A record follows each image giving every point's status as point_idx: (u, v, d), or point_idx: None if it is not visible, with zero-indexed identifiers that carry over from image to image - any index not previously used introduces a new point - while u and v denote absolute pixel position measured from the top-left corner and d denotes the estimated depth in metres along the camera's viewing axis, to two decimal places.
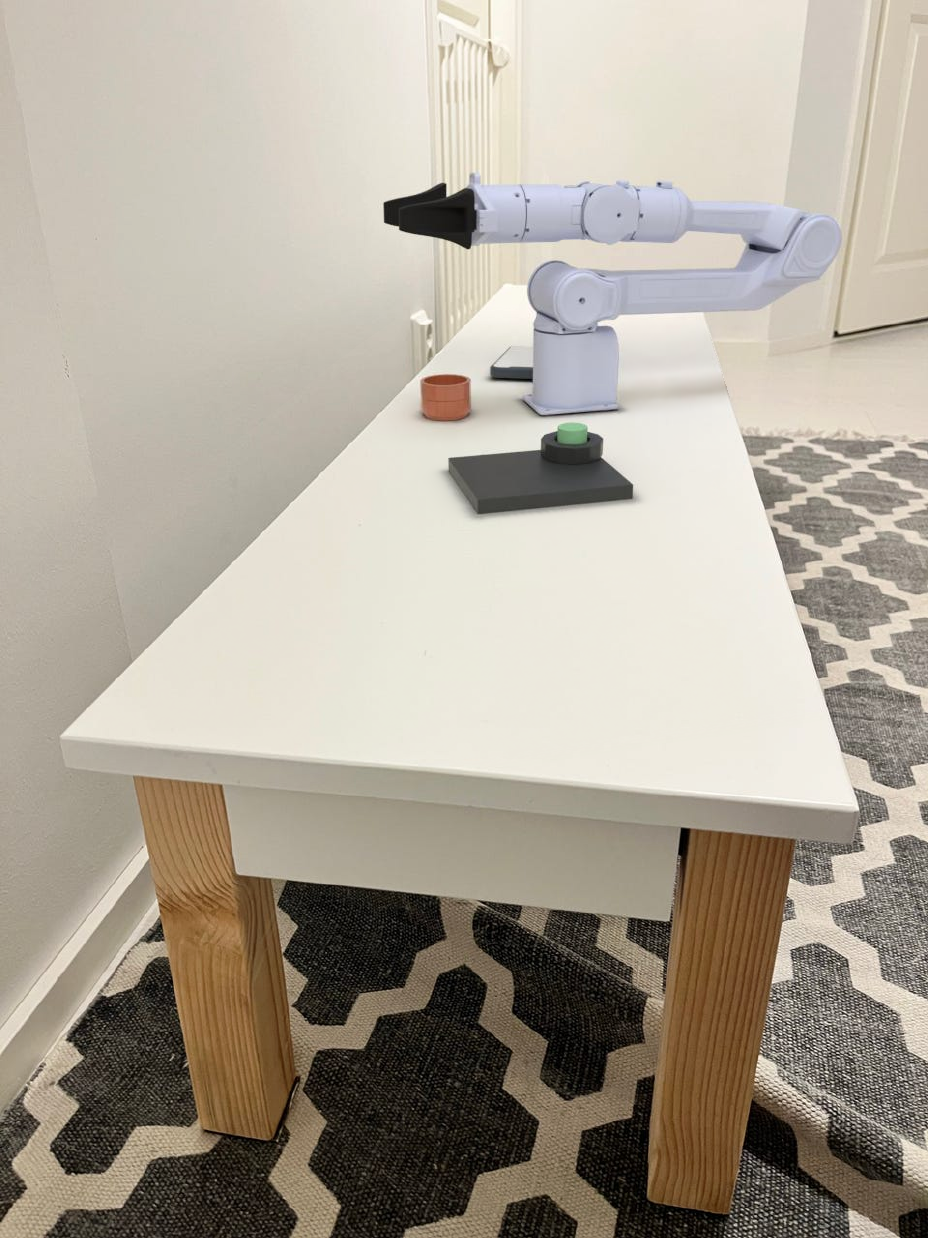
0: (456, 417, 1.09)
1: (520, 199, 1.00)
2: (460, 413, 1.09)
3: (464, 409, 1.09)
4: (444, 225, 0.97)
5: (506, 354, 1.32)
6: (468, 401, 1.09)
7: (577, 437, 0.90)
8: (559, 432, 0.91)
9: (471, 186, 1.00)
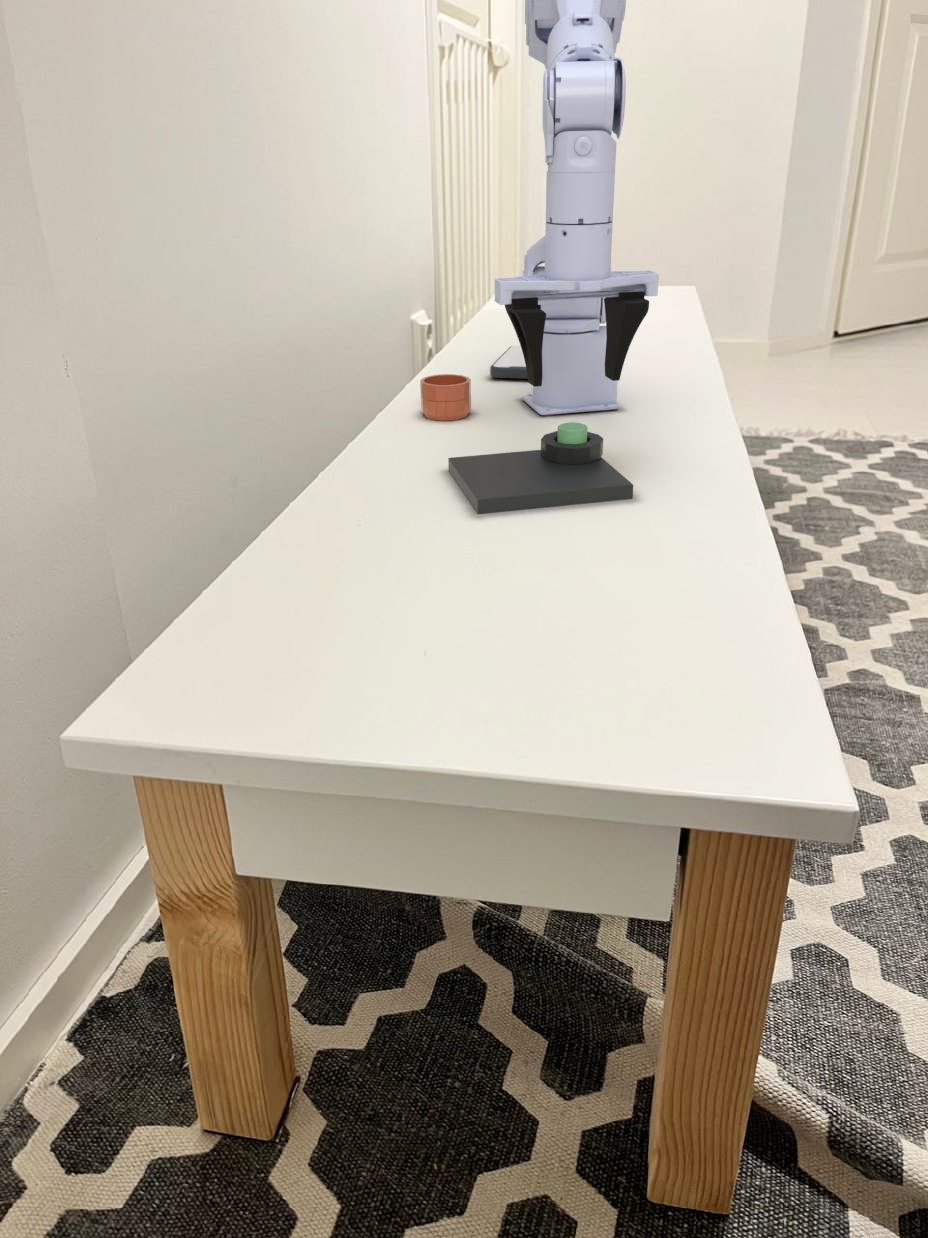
0: (456, 417, 1.09)
1: (611, 228, 0.82)
2: (460, 413, 1.09)
3: (464, 409, 1.09)
4: None
5: (506, 354, 1.32)
6: (468, 401, 1.09)
7: (577, 437, 0.90)
8: (559, 432, 0.91)
9: None
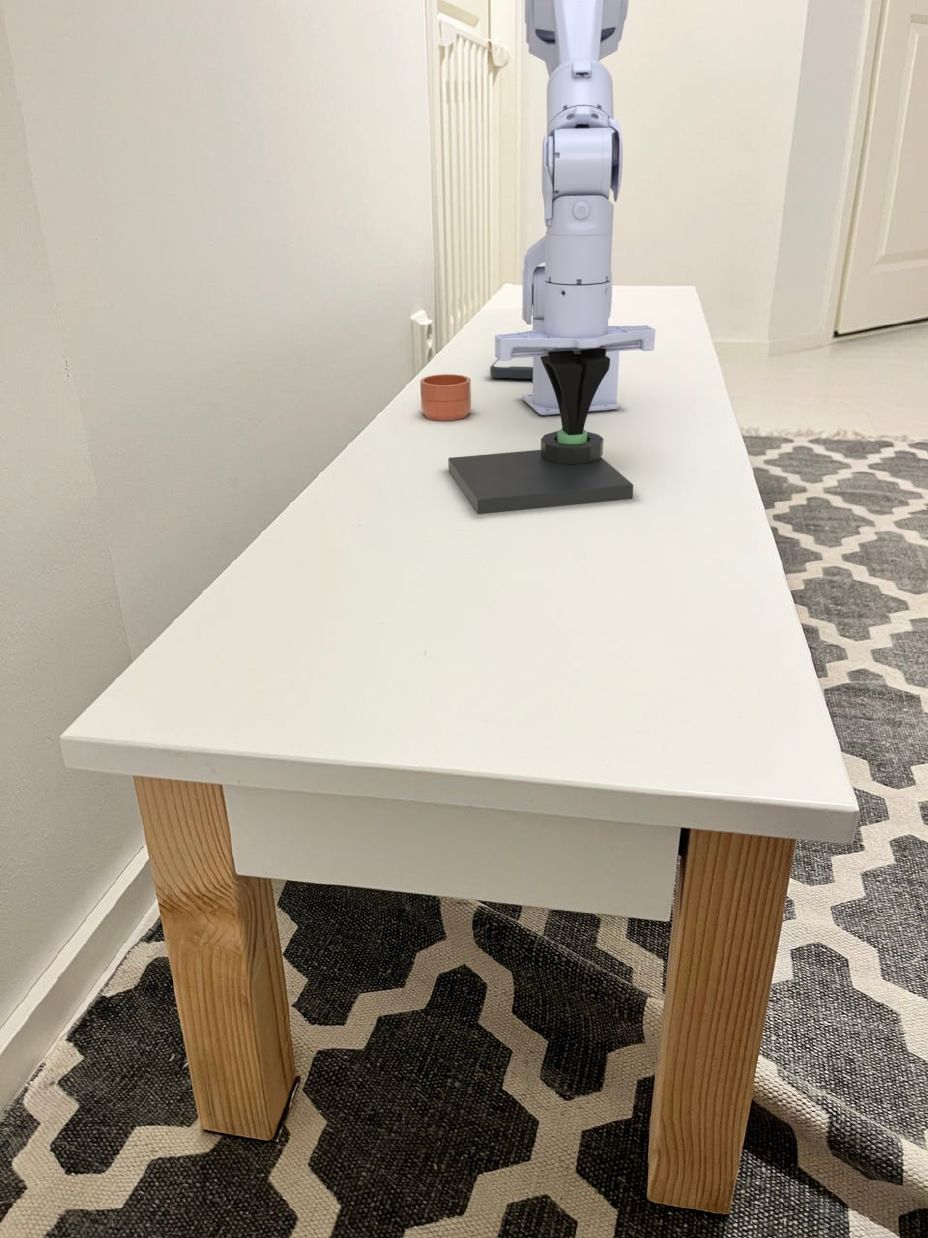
0: (456, 417, 1.09)
1: (608, 287, 0.84)
2: (460, 413, 1.09)
3: (464, 409, 1.09)
4: None
5: None
6: (468, 401, 1.09)
7: (577, 442, 0.90)
8: (559, 437, 0.91)
9: None
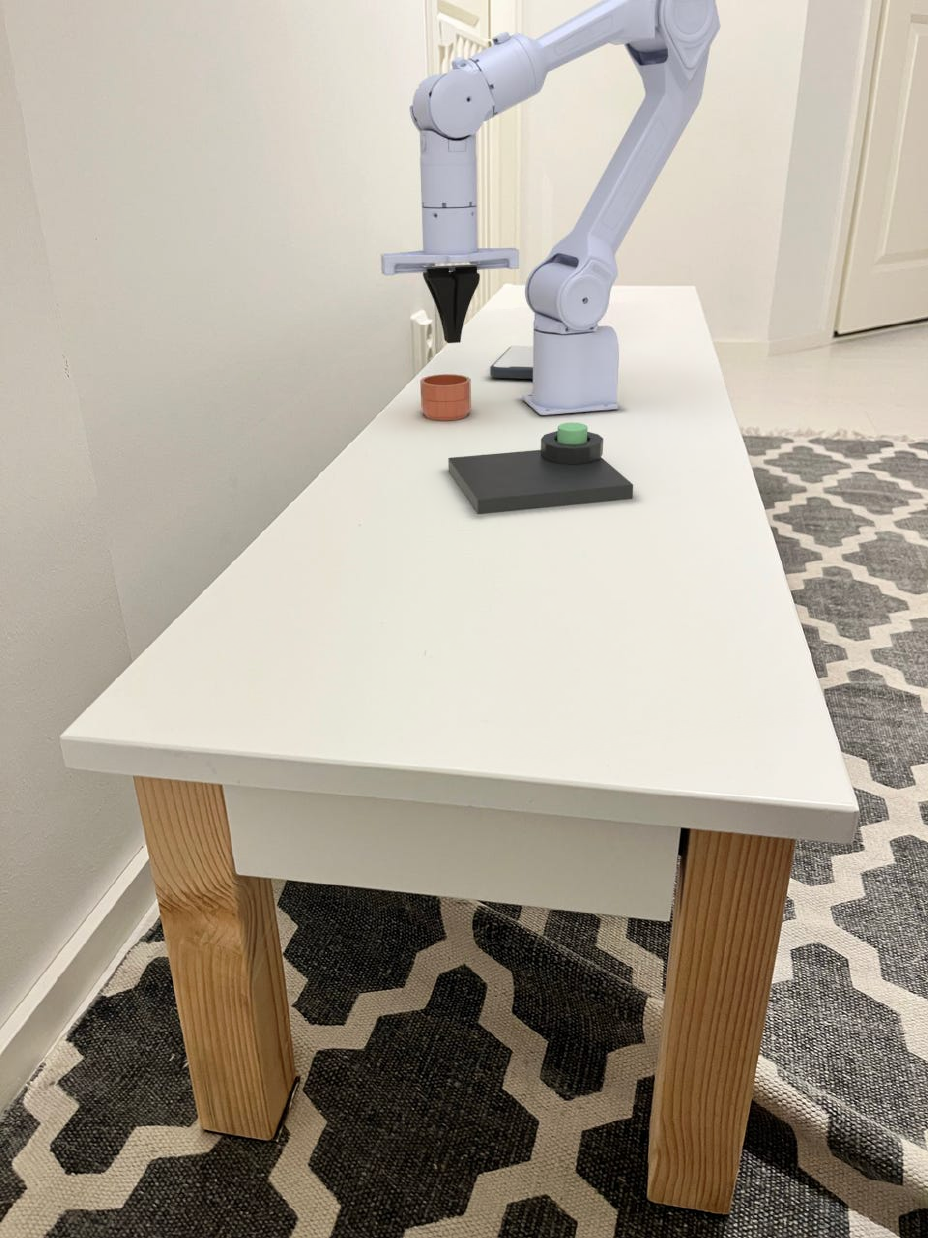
0: (456, 417, 1.09)
1: (475, 211, 0.99)
2: (460, 413, 1.09)
3: (464, 409, 1.09)
4: None
5: (506, 354, 1.32)
6: (468, 401, 1.09)
7: (577, 437, 0.90)
8: (559, 432, 0.91)
9: None
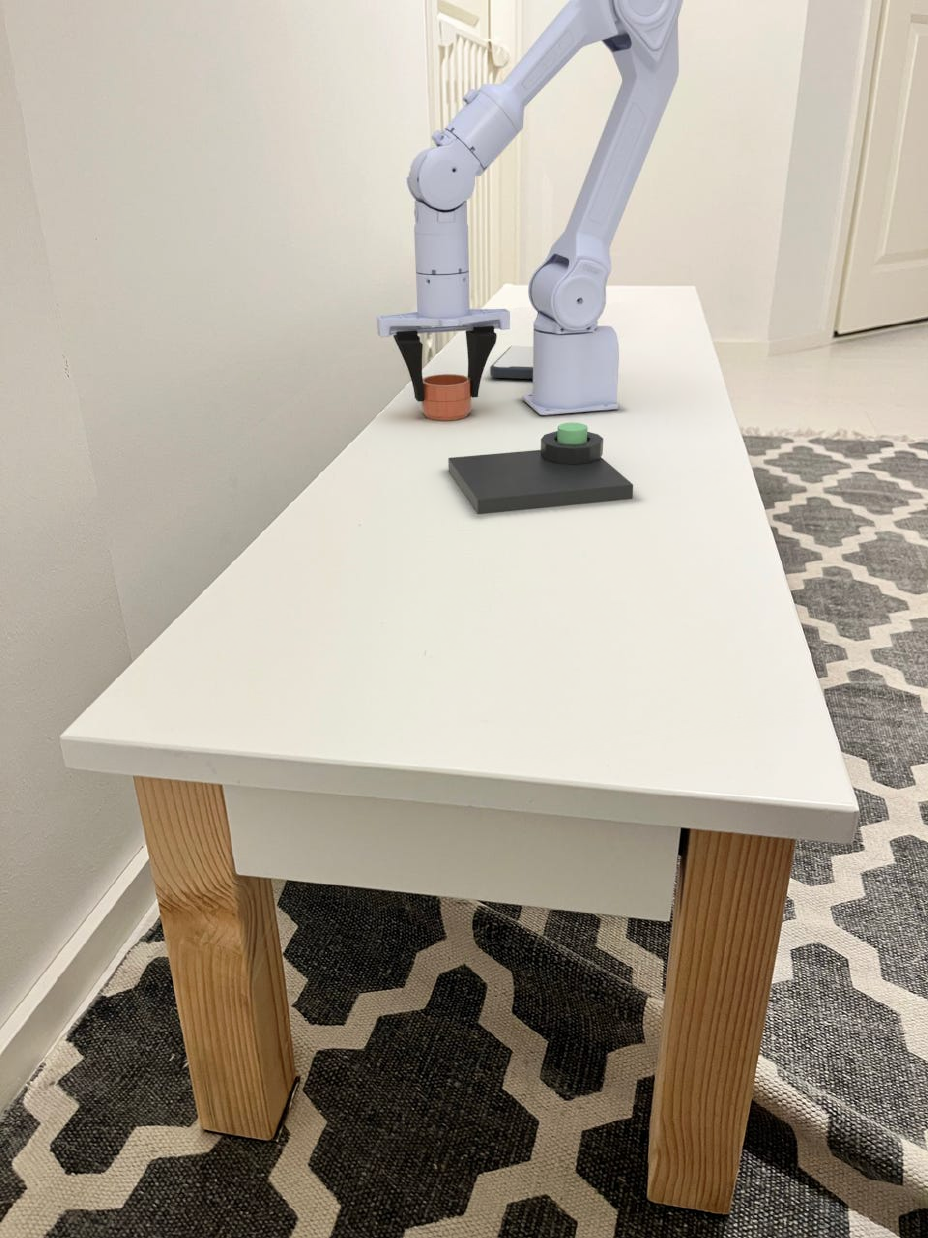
0: (456, 417, 1.09)
1: (467, 276, 1.03)
2: (460, 413, 1.09)
3: (464, 409, 1.09)
4: None
5: (506, 354, 1.32)
6: (468, 401, 1.09)
7: (577, 437, 0.90)
8: (559, 432, 0.91)
9: None
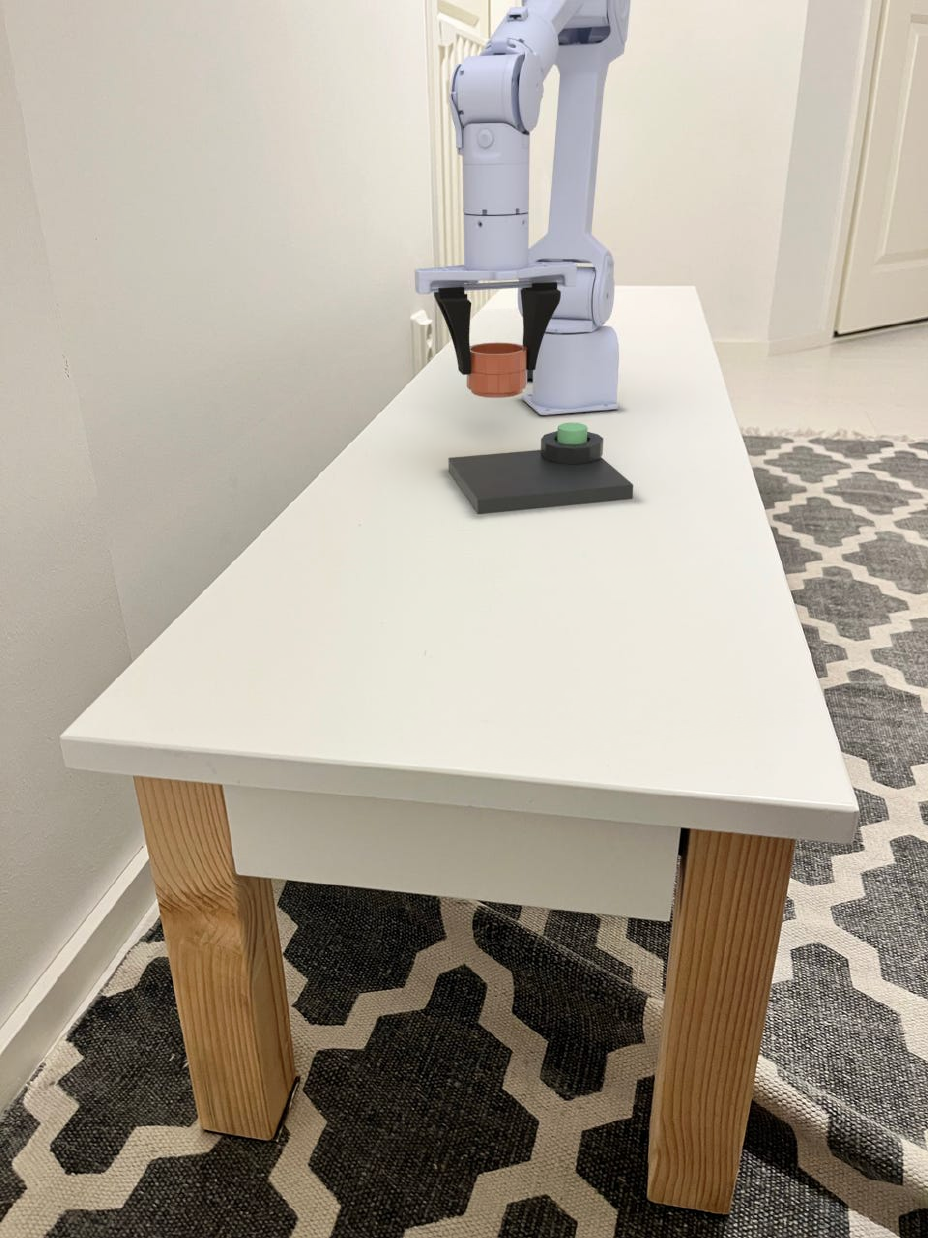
0: (510, 394, 0.90)
1: (527, 219, 0.84)
2: (515, 389, 0.89)
3: (519, 384, 0.90)
4: None
5: None
6: (524, 374, 0.90)
7: (577, 437, 0.90)
8: (559, 432, 0.91)
9: None
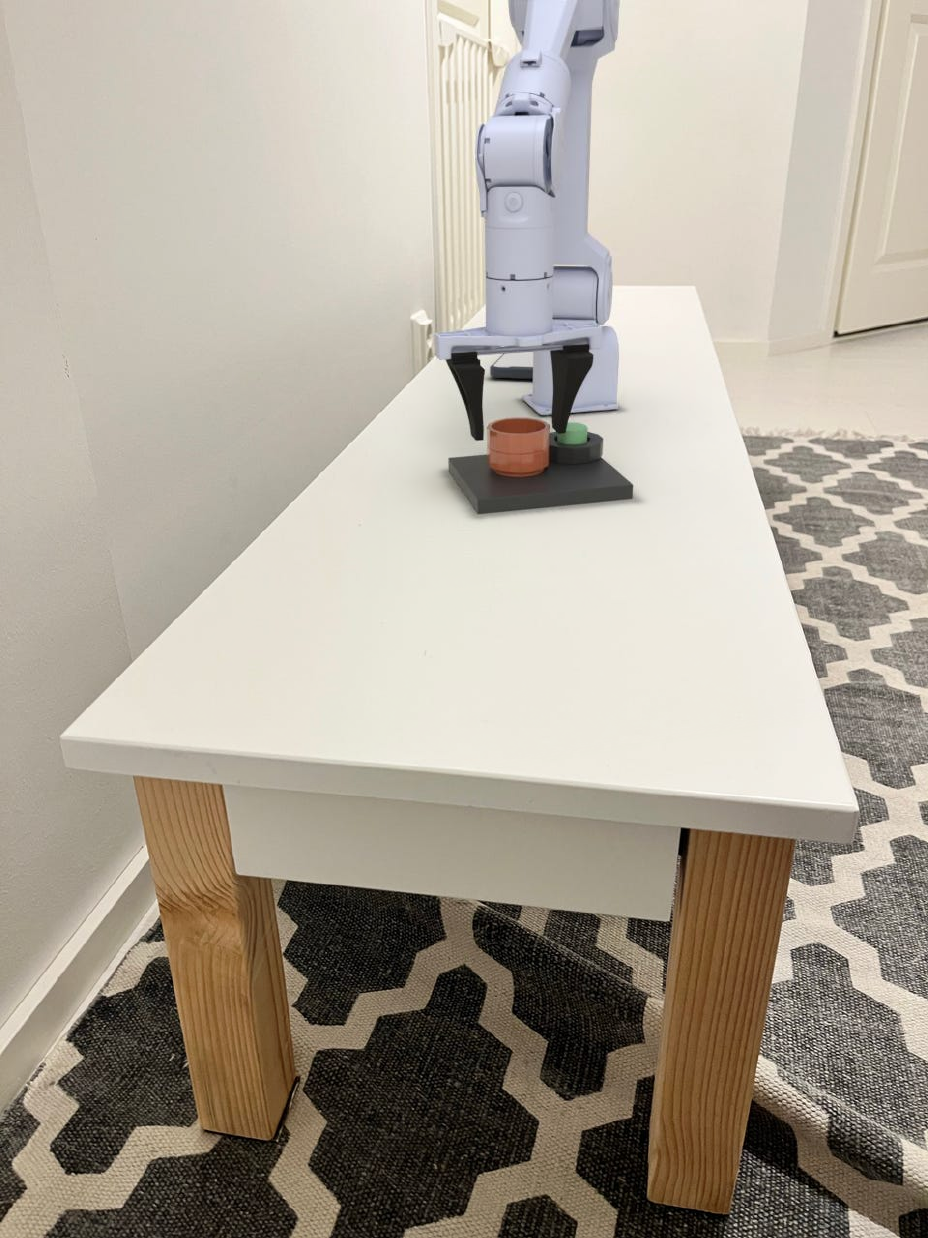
0: (532, 473, 0.87)
1: (551, 283, 0.81)
2: (537, 468, 0.87)
3: (542, 463, 0.87)
4: None
5: (506, 354, 1.32)
6: (547, 452, 0.87)
7: (577, 437, 0.90)
8: None
9: None
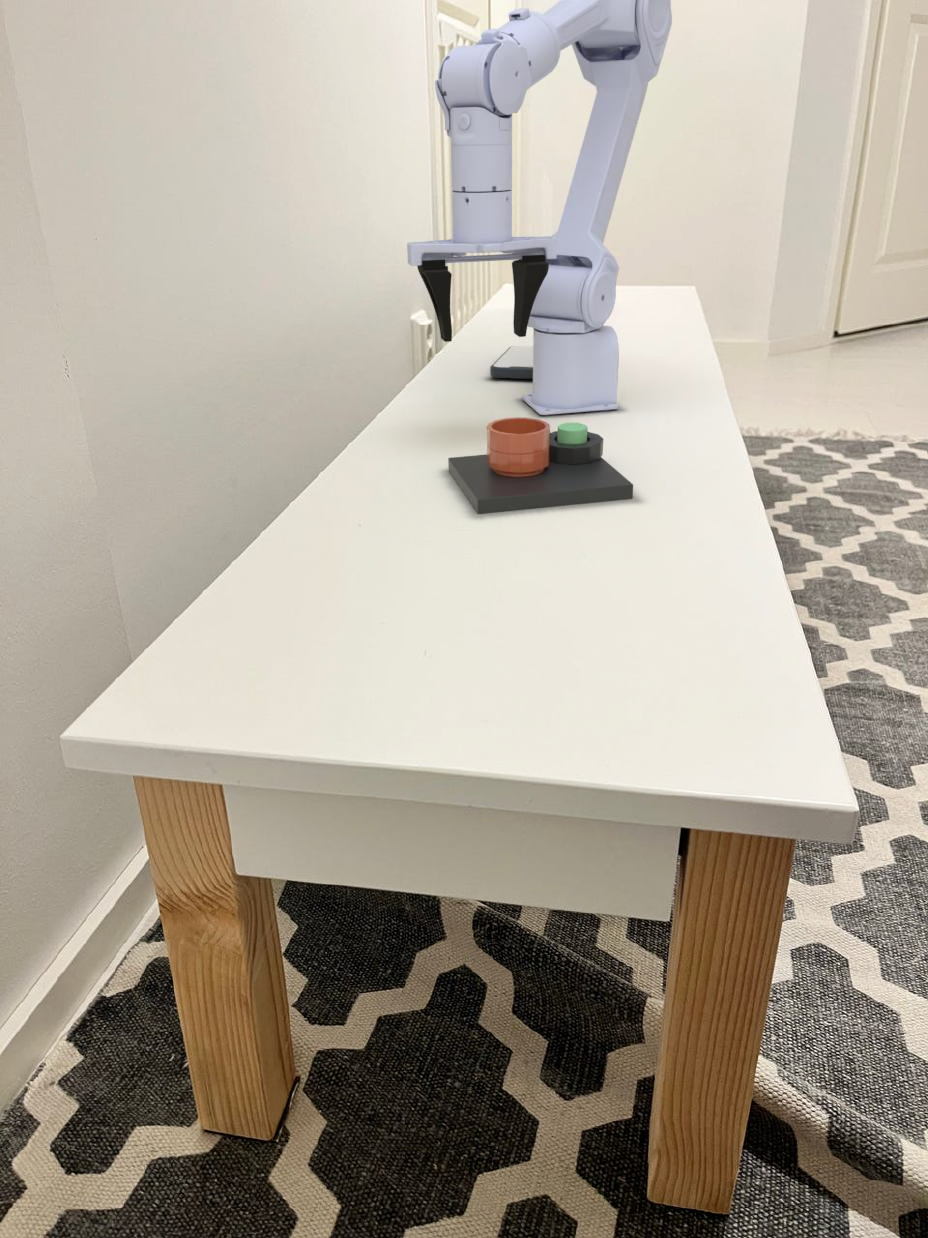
0: (532, 473, 0.87)
1: (510, 196, 0.91)
2: (537, 468, 0.87)
3: (542, 463, 0.87)
4: None
5: (506, 354, 1.32)
6: (547, 452, 0.87)
7: (577, 437, 0.90)
8: (559, 432, 0.91)
9: None
